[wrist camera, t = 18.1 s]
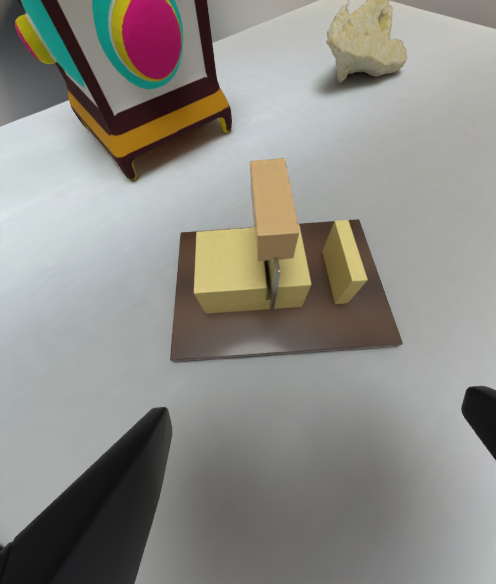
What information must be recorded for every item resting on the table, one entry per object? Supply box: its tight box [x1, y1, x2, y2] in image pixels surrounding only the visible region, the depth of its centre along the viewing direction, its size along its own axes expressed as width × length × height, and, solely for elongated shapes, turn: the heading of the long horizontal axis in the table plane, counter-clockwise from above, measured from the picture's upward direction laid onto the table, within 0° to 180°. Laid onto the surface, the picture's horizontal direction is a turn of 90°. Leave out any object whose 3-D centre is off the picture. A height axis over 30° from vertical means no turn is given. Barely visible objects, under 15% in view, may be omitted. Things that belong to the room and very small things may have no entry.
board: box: [170, 219, 403, 362], centre depth 24 cm, size 14×20×1 cm
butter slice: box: [322, 220, 368, 304], centre depth 21 cm, size 6×1×4 cm, turn 4°
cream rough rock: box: [326, 0, 407, 83], centre depth 39 cm, size 15×7×15 cm
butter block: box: [194, 224, 311, 314], centre depth 21 cm, size 6×9×4 cm, turn 93°
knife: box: [250, 158, 300, 312], centre depth 17 cm, size 8×2×9 cm, turn 4°
